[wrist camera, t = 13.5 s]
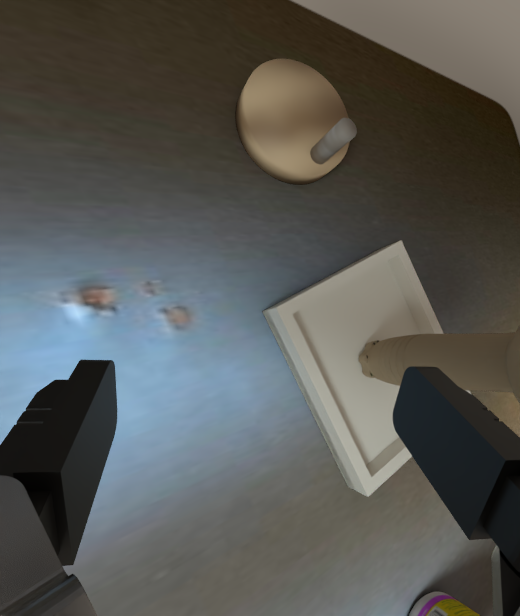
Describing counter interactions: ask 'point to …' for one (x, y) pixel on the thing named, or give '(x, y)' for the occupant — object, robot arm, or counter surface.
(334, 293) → the tray
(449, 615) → the supplement bottle
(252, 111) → the crank wheel
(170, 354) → the counter surface
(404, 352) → the handle
